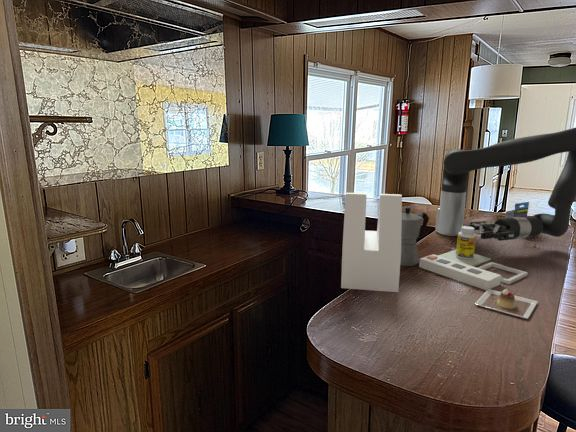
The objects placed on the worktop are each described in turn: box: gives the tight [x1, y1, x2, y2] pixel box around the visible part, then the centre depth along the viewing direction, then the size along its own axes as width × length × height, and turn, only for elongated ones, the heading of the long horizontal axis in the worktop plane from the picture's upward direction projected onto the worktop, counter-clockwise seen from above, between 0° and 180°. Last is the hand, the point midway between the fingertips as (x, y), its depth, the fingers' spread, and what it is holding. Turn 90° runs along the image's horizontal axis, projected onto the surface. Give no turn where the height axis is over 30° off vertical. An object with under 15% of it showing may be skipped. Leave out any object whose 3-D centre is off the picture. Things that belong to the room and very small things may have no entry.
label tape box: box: [504, 201, 530, 218], centre depth 168 cm, size 9×4×12 cm, turn 118°
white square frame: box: [477, 261, 528, 285], centre depth 125 cm, size 11×11×1 cm
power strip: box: [418, 253, 502, 291], centre depth 124 cm, size 22×10×3 cm, turn 37°
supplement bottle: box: [455, 225, 477, 259], centre depth 136 cm, size 6×6×10 cm
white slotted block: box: [340, 192, 403, 293], centre depth 120 cm, size 19×15×25 cm
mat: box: [438, 249, 492, 267], centre depth 138 cm, size 12×12×1 cm
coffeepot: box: [400, 207, 430, 267], centre depth 134 cm, size 15×9×18 cm, turn 115°
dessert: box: [474, 288, 539, 319], centre depth 105 cm, size 12×12×5 cm
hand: (472, 232), depth 136 cm, fingers open, 8 cm apart
